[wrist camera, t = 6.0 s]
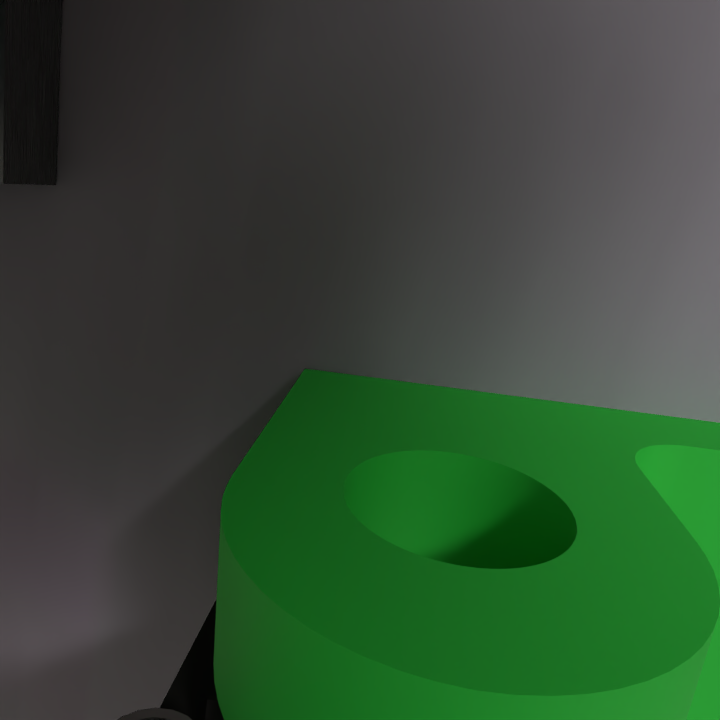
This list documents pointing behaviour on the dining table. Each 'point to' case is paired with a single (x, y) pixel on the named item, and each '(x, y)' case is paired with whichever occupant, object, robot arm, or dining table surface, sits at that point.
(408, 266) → the dining table surface
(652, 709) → the mechanical part
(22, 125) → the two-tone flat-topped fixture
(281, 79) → the dining table surface
